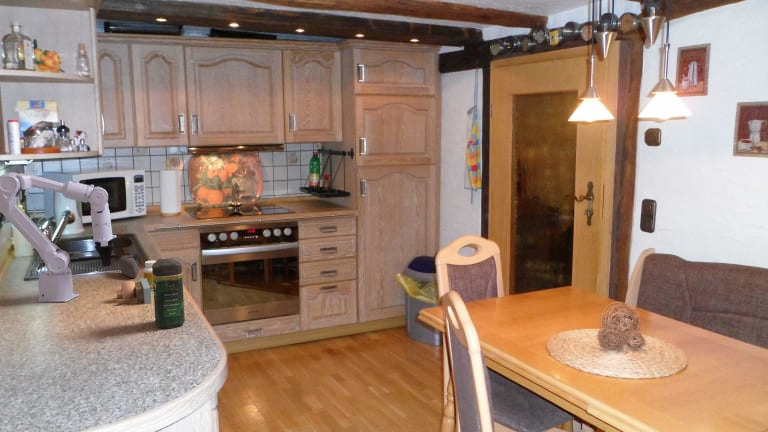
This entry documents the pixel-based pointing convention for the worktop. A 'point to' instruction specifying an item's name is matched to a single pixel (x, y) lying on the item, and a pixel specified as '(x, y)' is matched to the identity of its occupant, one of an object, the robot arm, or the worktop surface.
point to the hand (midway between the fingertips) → (106, 263)
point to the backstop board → (146, 291)
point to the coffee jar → (168, 293)
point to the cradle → (138, 298)
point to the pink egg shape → (128, 289)
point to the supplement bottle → (149, 273)
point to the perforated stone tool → (128, 266)
